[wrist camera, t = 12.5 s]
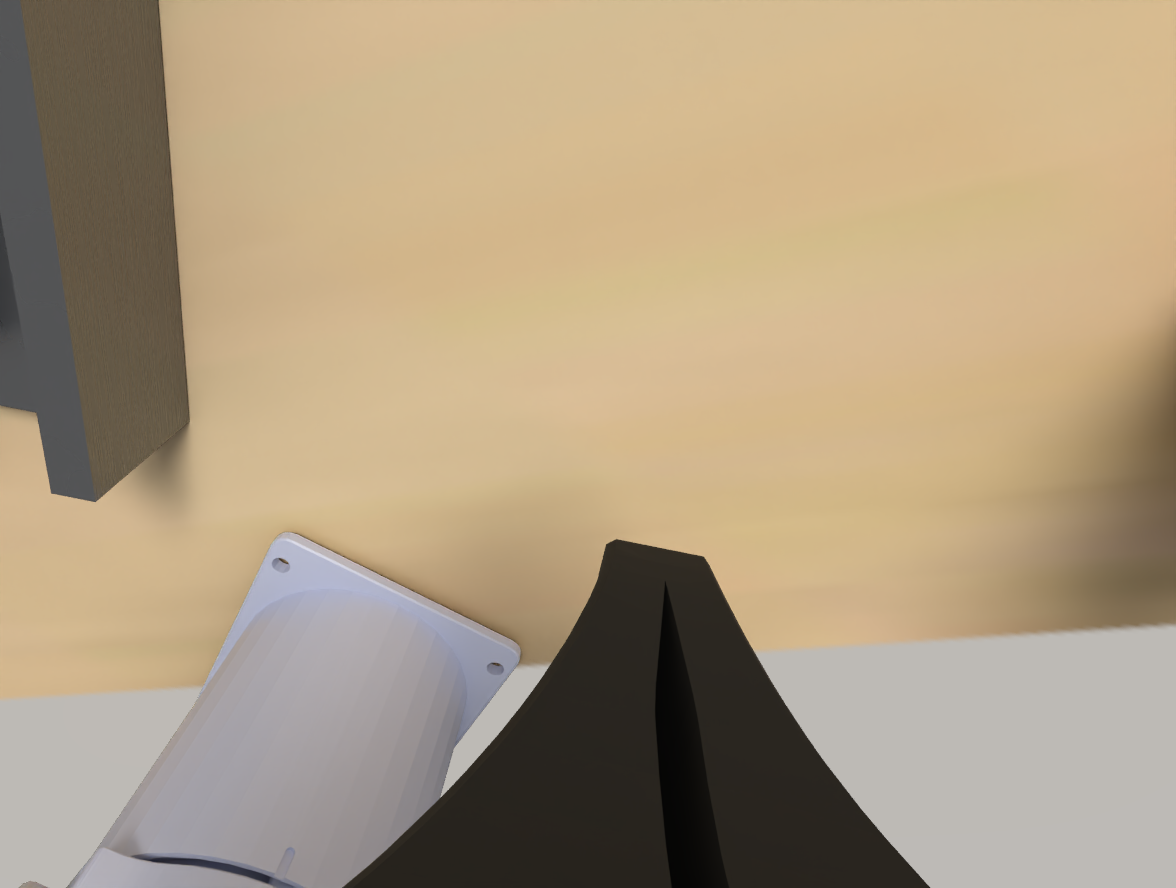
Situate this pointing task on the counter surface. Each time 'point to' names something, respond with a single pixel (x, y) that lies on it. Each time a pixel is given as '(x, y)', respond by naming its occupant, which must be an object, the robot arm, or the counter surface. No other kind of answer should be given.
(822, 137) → the counter surface
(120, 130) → the rack
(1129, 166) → the counter surface
